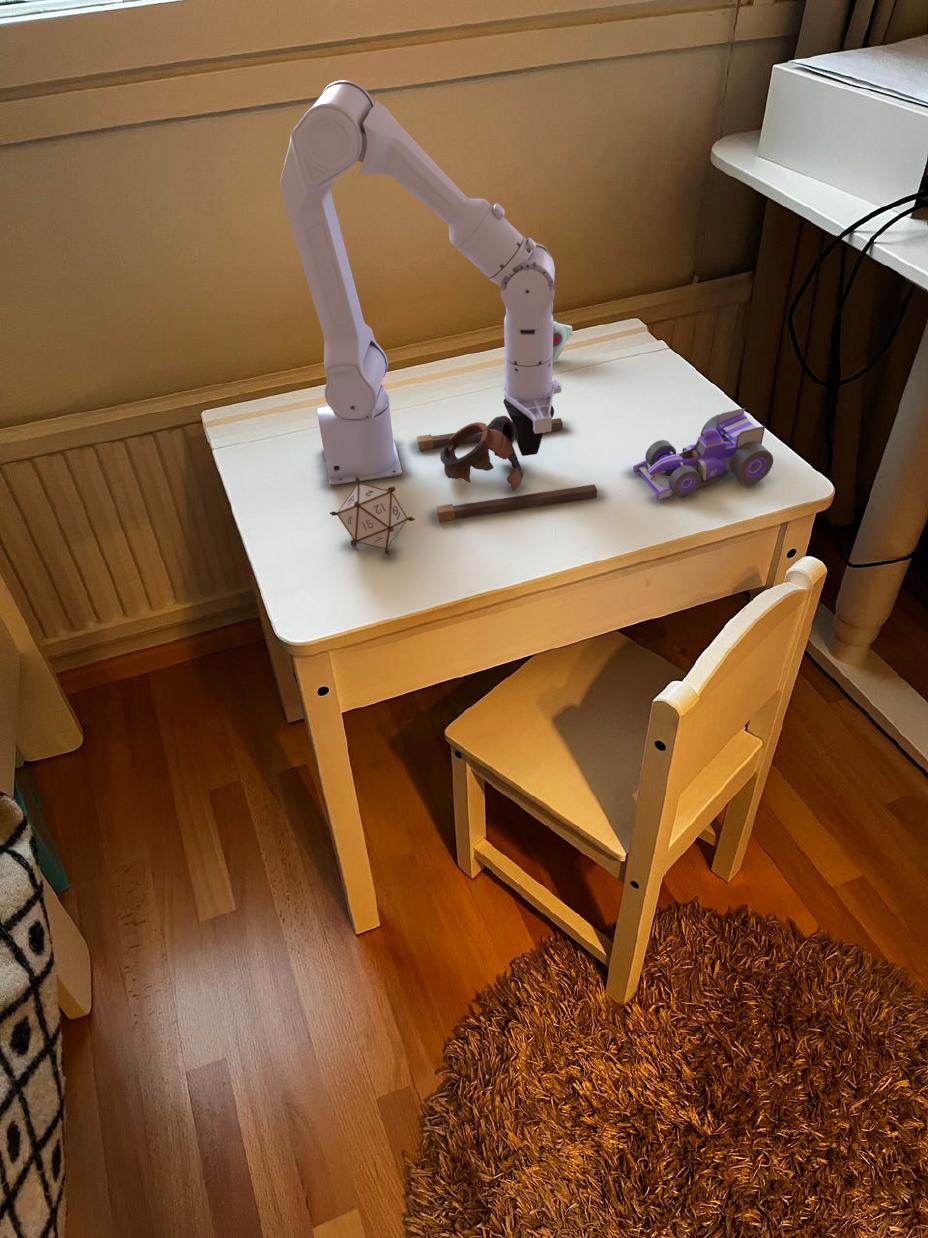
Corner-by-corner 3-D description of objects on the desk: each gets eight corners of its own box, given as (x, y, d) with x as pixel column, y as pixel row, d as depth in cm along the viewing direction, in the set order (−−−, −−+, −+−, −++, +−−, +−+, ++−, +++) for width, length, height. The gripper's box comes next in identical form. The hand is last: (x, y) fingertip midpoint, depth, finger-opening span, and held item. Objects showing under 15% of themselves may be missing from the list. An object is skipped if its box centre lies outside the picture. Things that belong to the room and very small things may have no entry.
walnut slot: (439, 522, 112) (438, 512, 111) (417, 445, 124) (416, 436, 123) (597, 497, 114) (597, 488, 113) (560, 424, 126) (560, 415, 125)
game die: (366, 561, 112) (334, 485, 111) (429, 537, 111) (397, 459, 109) (346, 575, 104) (311, 493, 102) (414, 549, 102) (379, 465, 100)
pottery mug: (513, 508, 113) (478, 462, 109) (457, 516, 120) (421, 473, 115) (547, 439, 119) (514, 392, 114) (491, 450, 125) (458, 406, 120)
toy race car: (627, 466, 118) (631, 422, 114) (729, 441, 121) (737, 398, 117) (662, 507, 112) (668, 462, 107) (769, 480, 115) (779, 435, 110)
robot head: (568, 352, 141) (569, 310, 137) (579, 364, 138) (581, 322, 134) (520, 362, 140) (520, 320, 135) (530, 374, 137) (530, 332, 132)
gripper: (578, 379, 104) (574, 479, 113) (546, 323, 114) (544, 418, 123) (517, 388, 103) (518, 487, 112) (490, 331, 113) (493, 426, 123)
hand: (528, 452), depth 118 cm, fingers closed
